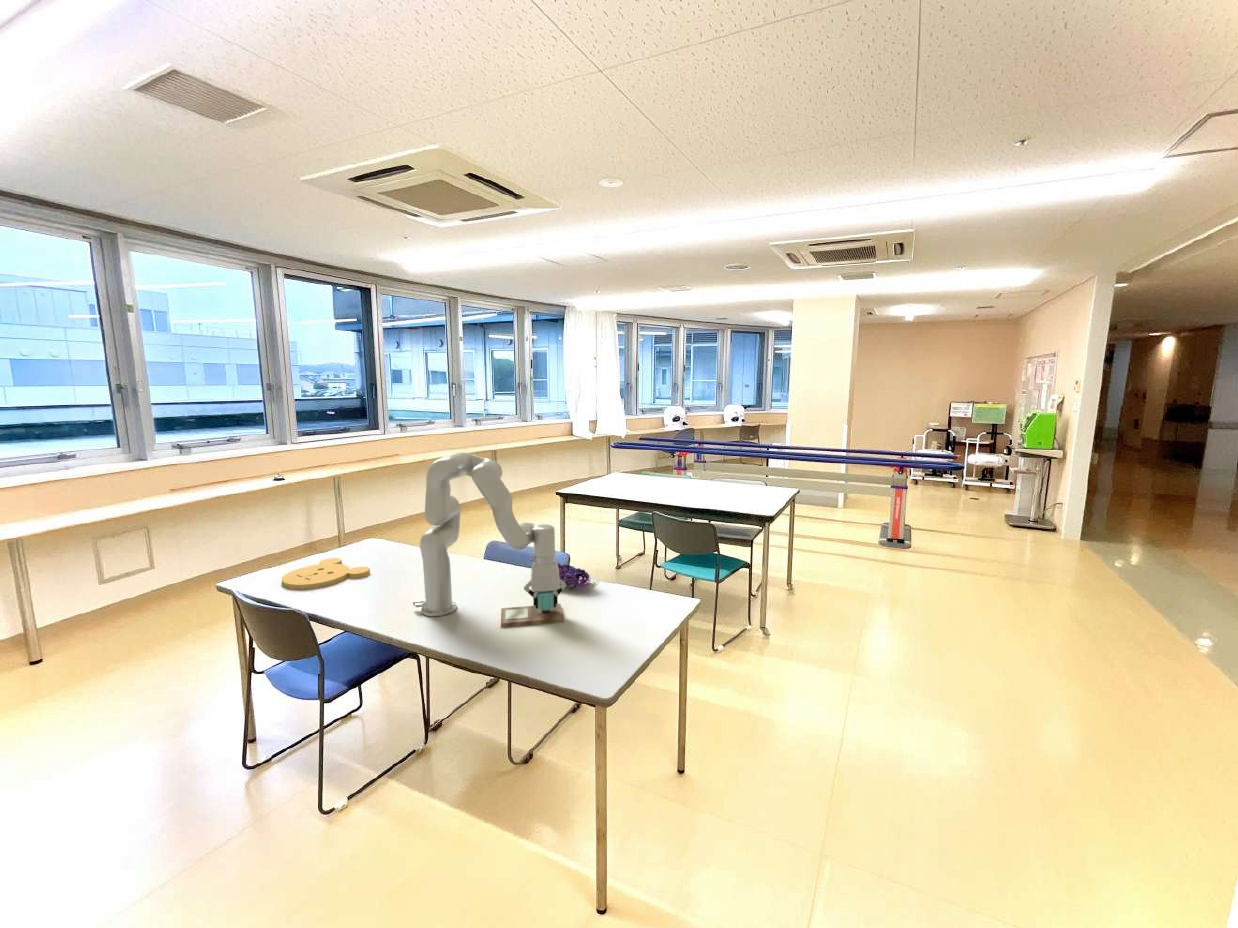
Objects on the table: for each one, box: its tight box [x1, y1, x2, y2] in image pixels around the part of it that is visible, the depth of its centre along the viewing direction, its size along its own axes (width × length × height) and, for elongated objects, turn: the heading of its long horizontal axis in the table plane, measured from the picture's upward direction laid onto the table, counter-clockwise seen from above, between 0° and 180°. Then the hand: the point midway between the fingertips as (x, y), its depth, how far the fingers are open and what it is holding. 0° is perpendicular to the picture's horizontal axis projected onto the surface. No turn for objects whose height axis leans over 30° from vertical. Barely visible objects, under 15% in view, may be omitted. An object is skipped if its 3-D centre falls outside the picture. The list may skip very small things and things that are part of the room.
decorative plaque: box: [281, 557, 371, 591], centre depth 235 cm, size 31×3×30 cm
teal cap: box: [537, 591, 554, 610], centre depth 196 cm, size 6×6×6 cm
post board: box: [500, 603, 565, 628], centre depth 195 cm, size 22×13×8 cm, turn 101°
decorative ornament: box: [557, 562, 600, 591], centre depth 225 cm, size 13×11×30 cm
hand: (545, 605), depth 196 cm, fingers closed on teal cap, 6 cm apart
